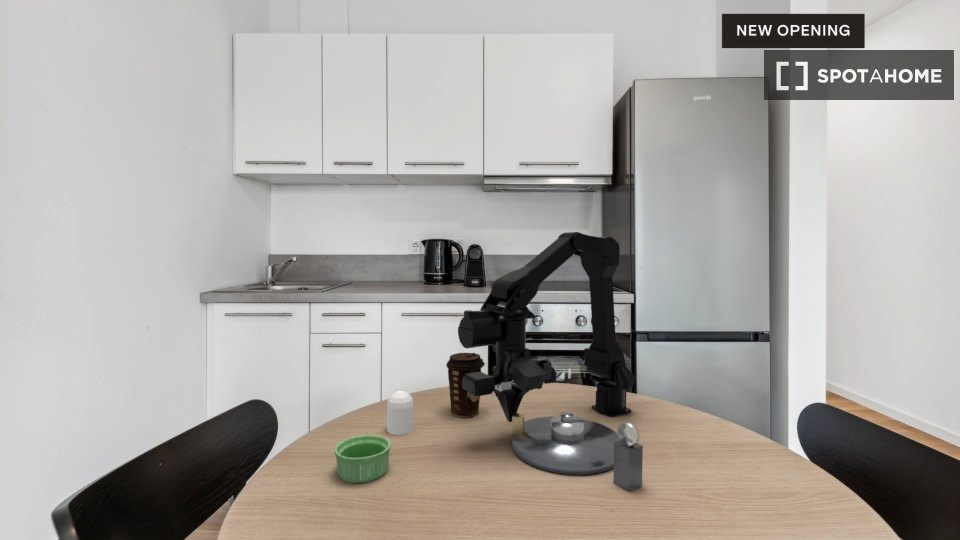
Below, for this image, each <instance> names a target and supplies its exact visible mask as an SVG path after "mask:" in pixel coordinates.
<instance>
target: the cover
mask: <svg viewBox="0 0 960 540" xmlns="http://www.w3.org/2000/svg"><path fill="white" fill-rule="evenodd" d="M582 419H583V418H580V417H578V416H575V414H574V413H572V412H570V411H569V412H568V411H565V412H561V413H560V414H558V415H555V416H554V417H552V418H551V438H552V439H553V440H555V441H557V442H560V443H565V444H576V443H580V442H582V441H583V440H584V421H583V420H582Z"/></svg>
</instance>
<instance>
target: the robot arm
mask: <svg viewBox="0 0 960 540" xmlns="http://www.w3.org/2000/svg"><path fill="white" fill-rule="evenodd" d="M620 252H621V251H620V244H619V242H618V241H617V240H616V239H615V238H613V237H611V236H599V237H598V236H593V235H590V234H589V235H587V234H584V233H581V232H579V231H574V232H573V231H570V232H563V233H561V234H559V236H558V237H557V238H556V239H555V240H554V241H553V242H552V243H550V245H549V246H547V247H546V248H545V249H543V250H542V251H541V252H539V253H538V254H537V255H536V256H535V257H533V259H531V260H530V261H529V262H528V263H526V264H525V265H524V266H522V267H520V268H518V269H516V270H512V271H509V272H508V273H506V274H503V275H502V276H500V277H499V278H497V279H496V280H495V281H493V283H492V284H491V291H490V292H489V294H488V296H487V297H486V299H485V301H484V303H482V306H481V307H480V310H464V311H463V317H461V320H460V322H459V325H458V326H457V336H458V339H459V340H458V341H459V343H460V345H462V347H463V348H465V349H471V348H472V349H473V348H480V347H487V346H492V352H494V353H495V365H494V366H492V373H495V374H494V375H489V374H487V373H484V372H483V371H481V372H475V373H469V374H465V376H464V377H463V379H462V388H463V389H464V390H466V391H468V392H469V393H471V394H473V395H475V396H480V397H482V396H489V395H491V394H493V393H494V395H495V397H496V398H497V400H498V401H499V402H498V403H499V405H500V407H501V410H502V411H503V414H504V417H505V418H506V422H509V423H512V416H513V414H514V413H518V410H519V408H520V405H521V402H522V400H523V398H524V396H525V395H526V394H528V393H529V392H530V391H533V390H540V389H543V385H544V384H545V385H547V384H551V383H556V382H557V372H556V369H555V368H554V366H552V362H551V361H550V359H548V358H545V359H540V360H537V359H536V360H532V358H531V351H530V348H528V347H526V341H527V340H526V339H527V337H526V334H527V333H526V331H527V328H526V322H527V321H526V320H528V319H529V320H530V319H534V318H536V315H535V314H534V313H533V311H531V310H530V309H529V307H528V305H529V304H530V303H531V302H532V301H533V299H534V298H535V297H536V295H537V294H538V290H539V288H540V285H541V284H542V283H543V282H544V281H545V280H547V278H548V277H550V276H551V275H552V274H554V273H555V272H556V271H557V270H558V269H559V268H560V267H561V266H563V265H564V264H565V263H567V261H568V260H569V259H570V258H571V257H574V256H577V257H579V259H580V264H581V266H582V269H583V270H584V271H585V273H586V275H587V276H588V279H589V281H588V282H589V297H590V311H591V312H590V313H591V327H592V330H591V331H592V341H591V343H590V345H589V347H585V348H584V351H583V353H584V364H583V365H584V366H586V371H587V373H589V377H590V380H591V382H597V383H596V390H595V404H594V405H591V409H594V410H596V411H597V412H600V413H602V414H605V415H607V416H609V417H616V416H619V415H625V414H628V413H632V408H630V407H627V390H630V389H631V388H634V385H635V381H636V377H635V376H634V374H633V373H632V372H631V371H630V369H629V368H628V367H627V364H626V359H625V358H626V357H625V353H624V351H623V350H622V348H621V346H620V344H619V343H618V341H617V337H616V335H617V334H616V323H615V322H616V320H615V317H616V316H615V301H614V284H613V283H614V282H613V277H614V274H615V272H616V271H617V269H618V266H619V264H620Z"/></svg>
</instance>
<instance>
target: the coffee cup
mask: <svg viewBox="0 0 960 540" xmlns="http://www.w3.org/2000/svg"><path fill="white" fill-rule="evenodd" d="M445 365H446V368H447V376H448V378H447V379H448V385H449V387H448V388H449V389H448V390H449V398H450V414H451V415H452V416H454V417H456V418H457V417H458V418H469V417H474V416H476V415H478V414H479V411H480V399H481V396H475V395H473V394H471V393H469V392H468V391H466V390H464V389H463V388H462V379H463V377H464V376H465V374H469V373H475V372H482V368H483V367H485V365H486V363H485V362H484V359H483V358H482V357H481V355H480V354H479V353H476V352H458V353H454V354H451V355H449V360H448V361H447V362H446V364H445Z"/></svg>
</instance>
